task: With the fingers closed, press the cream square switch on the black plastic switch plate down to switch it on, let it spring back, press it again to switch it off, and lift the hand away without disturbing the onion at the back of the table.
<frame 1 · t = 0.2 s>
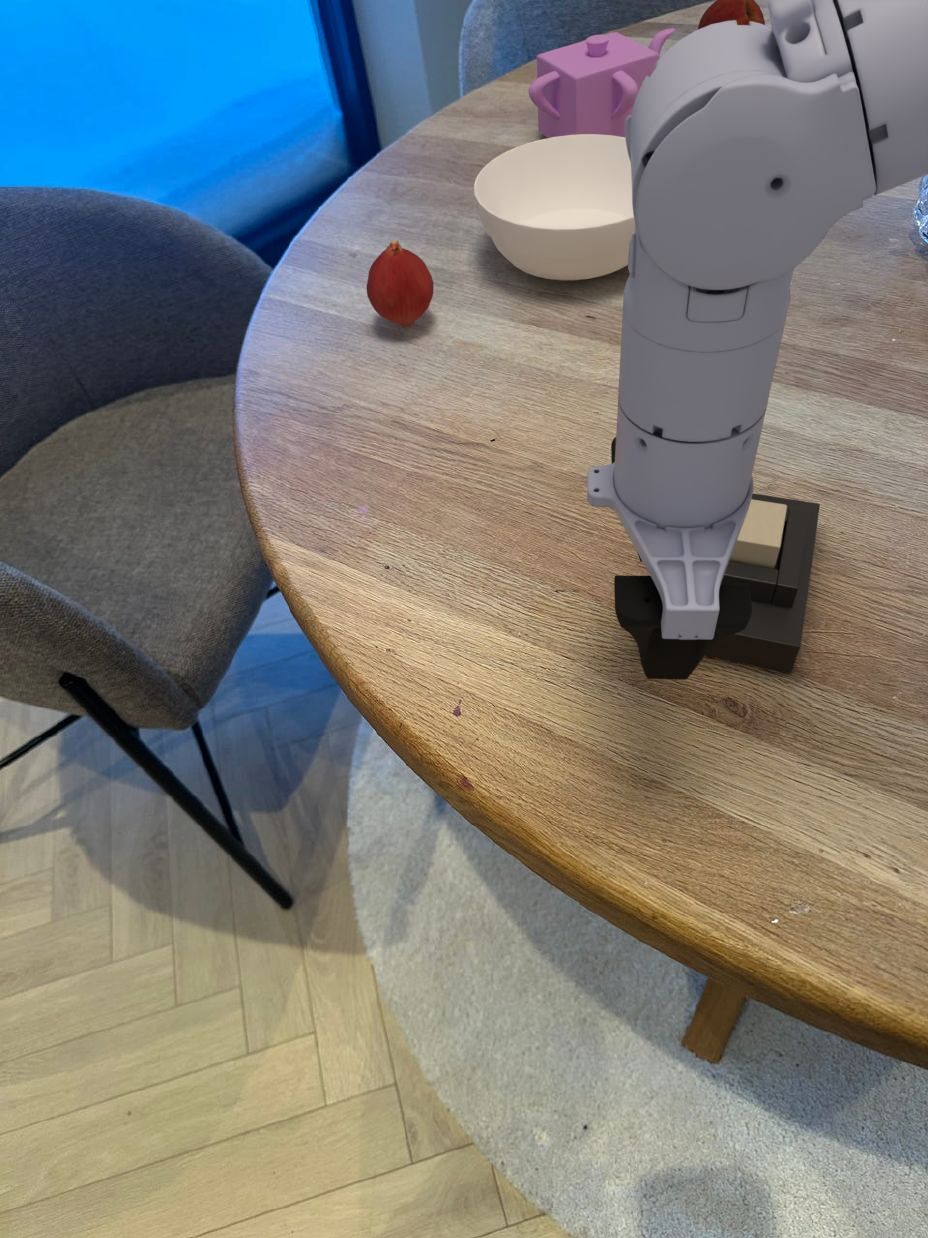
hand: (662, 612, 44), 8 cm above the table, tool pointing down, fingers open, 7 cm apart
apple: (723, 70, 106), on the table
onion: (406, 327, 77), on the table
teapot: (603, 141, 97), on the table
bowl: (573, 256, 82), on the table
switch: (749, 531, 51), point 5 cm above the table, slide at 0.1 cm
switch plate: (736, 586, 55), on the table
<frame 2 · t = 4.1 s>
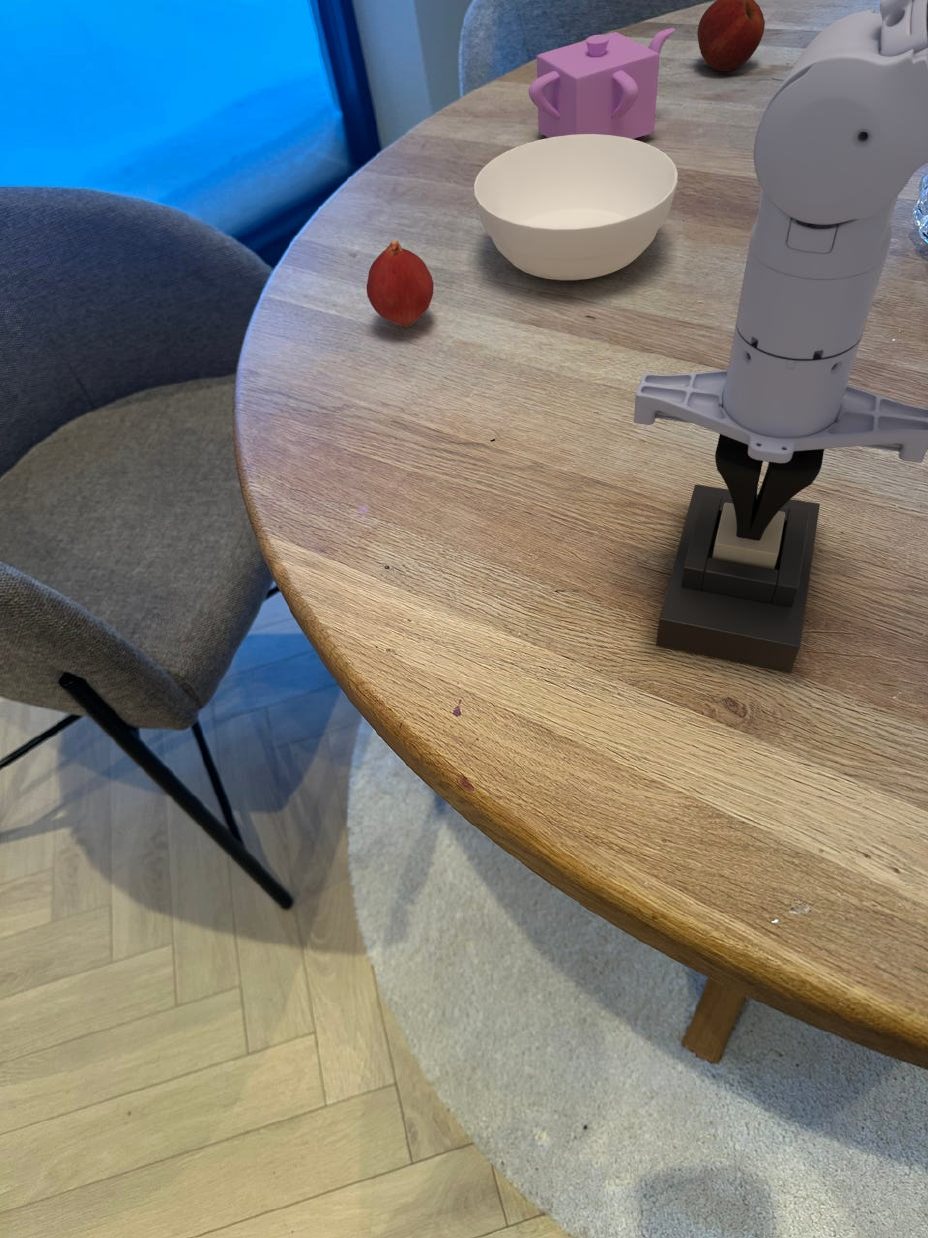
hand: (750, 527, 51), 5 cm above the table, tool pointing down, fingers closed, pressing on switch
switch: (748, 538, 51), point 5 cm above the table, slide at -0.5 cm, touching gripper
everything else where it was.
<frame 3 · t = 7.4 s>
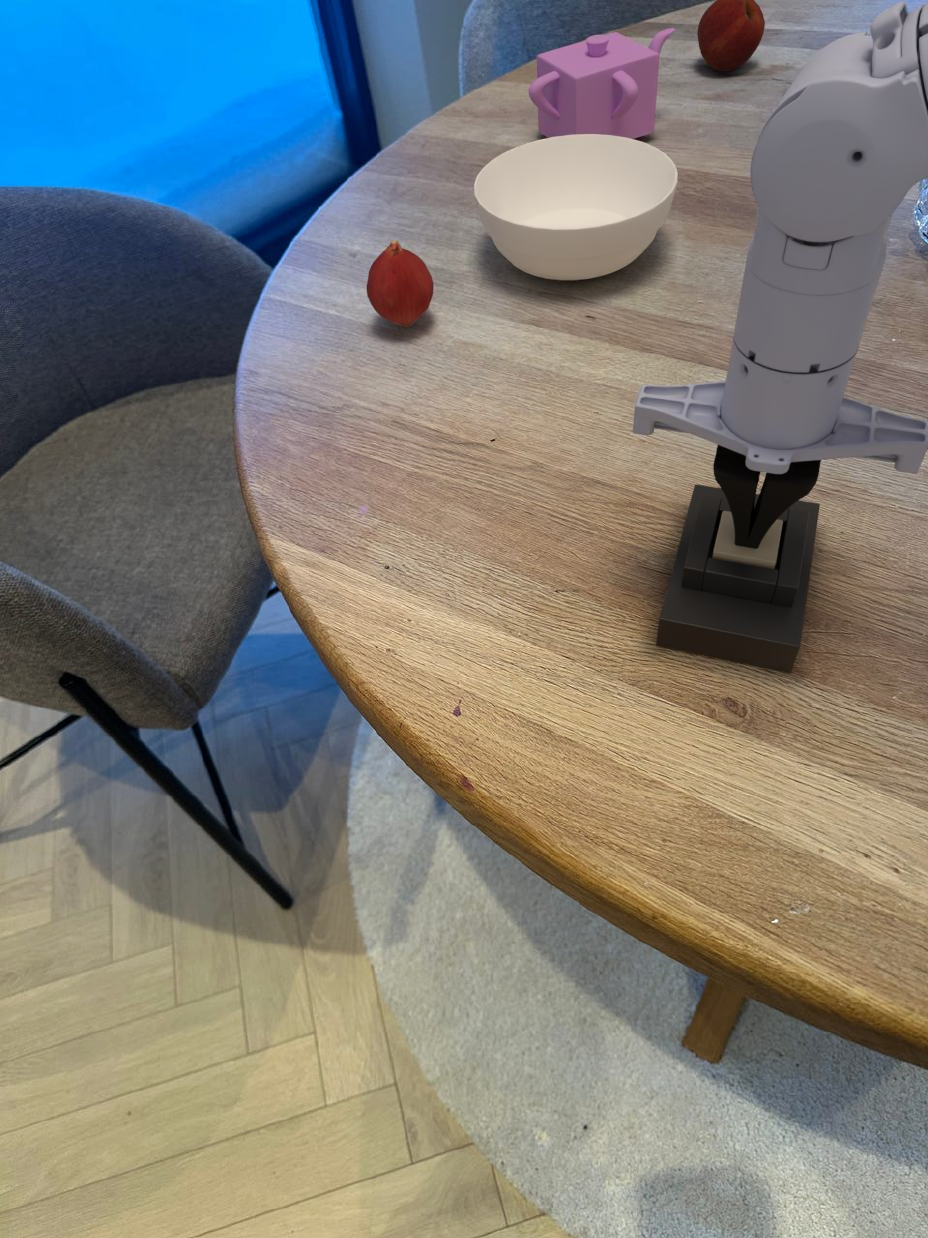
hand: (748, 535, 51), 5 cm above the table, tool pointing down, fingers closed, pressing on switch
switch: (746, 546, 52), point 4 cm above the table, slide at -1.2 cm, touching gripper
everything else where it was.
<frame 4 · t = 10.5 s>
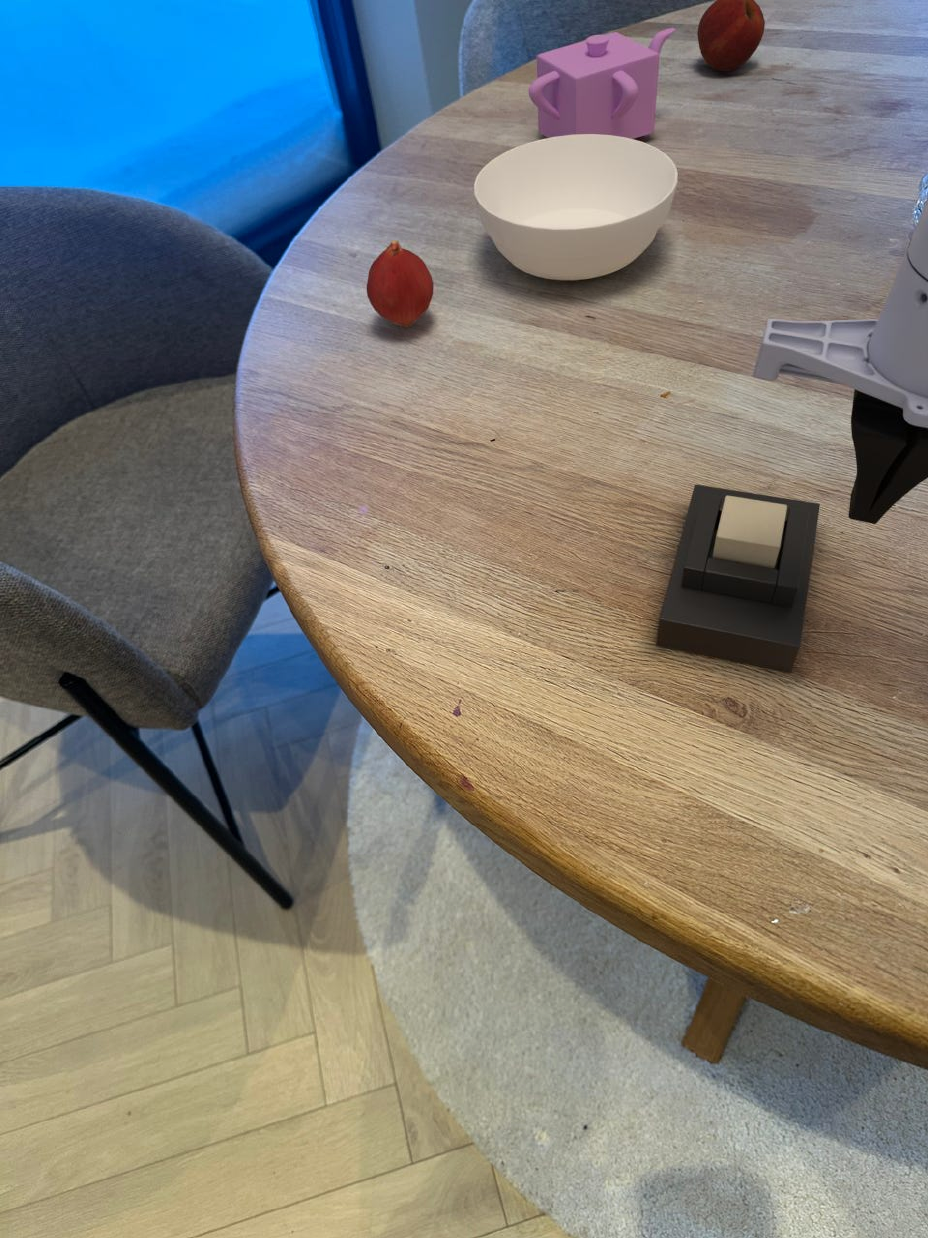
hand: (863, 508, 44), 10 cm above the table, tool pointing down, fingers closed
switch: (749, 531, 51), point 5 cm above the table, slide at 0.1 cm
everything else where it was.
at the end: switch pushed in 1.2 cm at the most during the clip, back to where it started at the end; switch slide at 0.1 cm; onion moved 0.2 cm from its start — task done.
